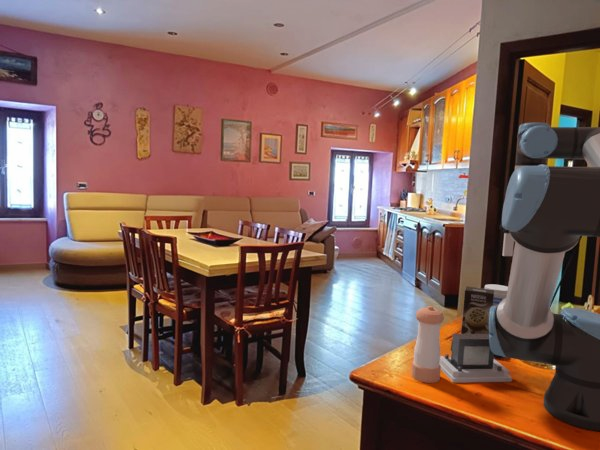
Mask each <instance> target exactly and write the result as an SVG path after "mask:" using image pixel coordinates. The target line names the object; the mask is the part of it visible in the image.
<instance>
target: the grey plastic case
mask: <svg viewBox="0 0 600 450" xmlns="http://www.w3.org/2000/svg"><path fill="white" fill-rule="evenodd" d="M452 339H453V341H452V340H451V343H452V350H451V354H450V355H451V356H450V357H451V364H452V365H453V366H454V367H455V368H456V369H458V367H459V366H460V367H462V369H493V361H494V359H495V358H494V353H493V352H492V351H491V349H490V343H489V334H461V333H453V334H452Z"/></svg>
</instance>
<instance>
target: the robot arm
mask: <svg viewBox="0 0 600 450" xmlns="http://www.w3.org/2000/svg"><path fill="white" fill-rule="evenodd" d="M516 137H517V143H516V152H515V153H516V154H515V155H516V156H515V164H514V165H515V166H514V171H513V172H512V174H511V176H510V177H509V181H508V184H507V188H506V191H505V195H504V196H505V197H504V202H503V205H502V206H503V207H502V213H501V222H500V224H499V228H498V229H499V230H502V232H503V240H502V243H503V244H502V254H501V255H502V256H503V257H512V260H511V261H512V262H511V266H510V272H509V273H510V274H509V278H508V284H507V285H508V286H507V287H508V290H507V296H506V298H505V299H503V300H502V301H501V302H500V303H499V305H497V306H492V307H491V308H490V312H489V343H490V349H491V351H492V352H493V353H494V354H495V355H499V356H503V358H506V359H514V360H519V361H526V362H527V361H528V362H533V363H539V364H545V365H551V366H555V371H554V375H553V378H552V379H551V382H550V383H549V385H548V387H547V390H546V391H545V392H544V395H543V402H542V403H543V404H542V405H543V407H544V409H545V410H546V411H547V412H548V413H549V414H550V415H551V416H553V417H554V418H556V419H558V420H560V421H562V422H563V423H566V424H569V425H572V426H574V427H578V428H581V429H584V430H590V431H596V432H600V314H599V313H597V312H593V311H589V310H586V309H582V308H576V307H564V308H562V309H561V311H560V313H554V312H553V311H552V310H551V309H550V307H551V304H552V301H553V298H554V293H555V290H556V287H557V283H558V279H559V276H560V272H561V269H562V266H563V262H564V258H565V256H566V255H565V254H566V252H568V251H570V250H572V249H573V248H574V247H575V246H576V245H577V244H579V243H578V242H579V241H580V238H581V237H590V238H591V237H593V238H594V237H595V238H600V126H587V127H586V126H583V127H581V126H575V127H574V126H572V127H571V126H551V125H550V124H549V123H546V122H525V123H521V124H520V125H519V126H518V132H517V136H516ZM549 159H551V160H552V159H553V160H556V159H557V160H560V159H561V160H585V162H586V164H587V165H588V166H561V165H560V166H559V165H558V166H557V165H555V166H553V165H552V166H551V165H547V162H548V160H549Z"/></svg>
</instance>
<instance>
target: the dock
mask: <svg viewBox="0 0 600 450" xmlns="http://www.w3.org/2000/svg"><path fill="white" fill-rule="evenodd" d="M439 364H440V366H441V369H440V371H442V372H443V374H445V376H446V377H447V378H448V379H449V380H450V381H451V382H452V383H454V384H455V383H457V384H458V383H503V382H504V383H507V382H508V383H509V382H510V383H511V382H512V381H513V377H511V376H510V372H511V371H510V370H509V369H508V368H506V367H505V366H504V365H502V364H501V363H500V362H499V361H497V360H496V358H494V361H493V369H462V367H460V366H459V367H458V369H456V368H455V367H454V366H453V365H452V364H451V356H450V355H449V354H444V356H443V355H440V362H439Z"/></svg>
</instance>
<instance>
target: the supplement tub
mask: <svg viewBox="0 0 600 450" xmlns="http://www.w3.org/2000/svg"><path fill="white" fill-rule="evenodd" d="M483 289H489V290H494V299H493V306H497V305H499V303H500V302H501V301H502V300H503V299H505V298H506V296H507V290H508V286H507V285H501V284H494V283H493V284H492V283H491V284H488V283H487V284H485V285H484V287H483Z"/></svg>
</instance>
